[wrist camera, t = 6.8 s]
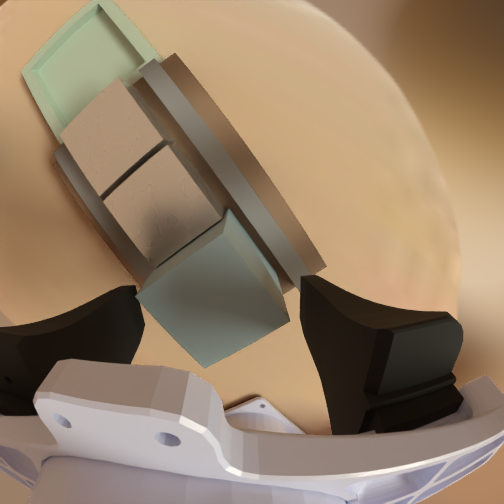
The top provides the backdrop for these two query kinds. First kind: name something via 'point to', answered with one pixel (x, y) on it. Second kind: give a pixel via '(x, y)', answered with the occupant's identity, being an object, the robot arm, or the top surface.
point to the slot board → (212, 171)
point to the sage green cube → (216, 293)
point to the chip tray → (85, 61)
